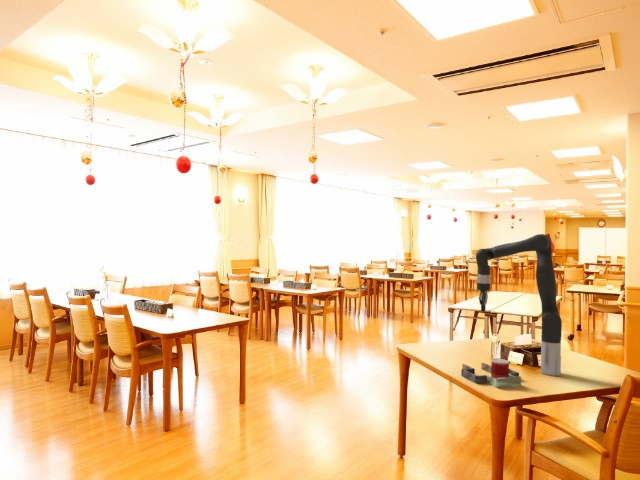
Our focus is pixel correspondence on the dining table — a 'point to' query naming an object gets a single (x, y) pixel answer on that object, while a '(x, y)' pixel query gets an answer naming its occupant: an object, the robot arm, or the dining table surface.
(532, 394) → the dining table surface
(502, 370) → the canned food
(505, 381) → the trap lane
